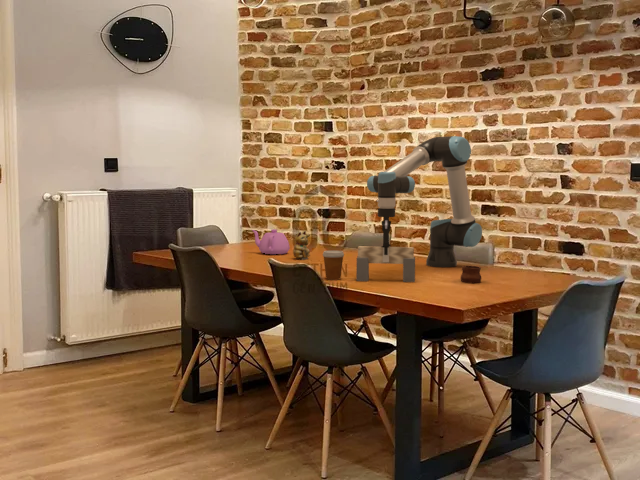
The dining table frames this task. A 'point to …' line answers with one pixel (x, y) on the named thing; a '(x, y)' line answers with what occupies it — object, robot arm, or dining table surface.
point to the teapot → (272, 242)
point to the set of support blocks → (408, 269)
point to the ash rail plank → (377, 254)
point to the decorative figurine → (301, 246)
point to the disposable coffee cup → (333, 264)
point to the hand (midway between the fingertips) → (385, 261)
